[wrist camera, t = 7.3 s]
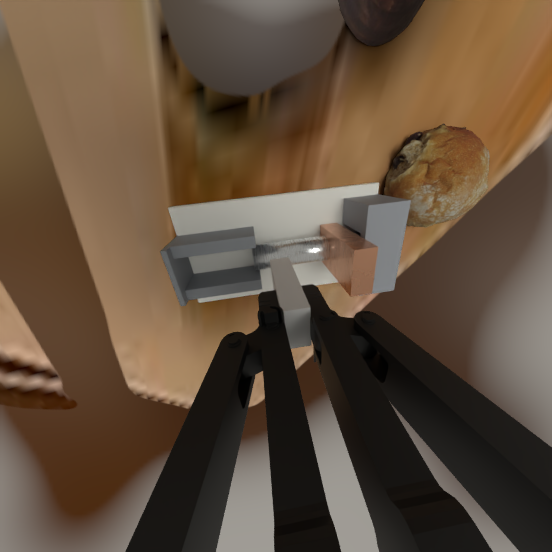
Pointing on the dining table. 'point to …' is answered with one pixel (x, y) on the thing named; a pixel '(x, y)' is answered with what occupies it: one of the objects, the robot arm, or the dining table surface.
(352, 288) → the slip tube
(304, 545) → the robot arm
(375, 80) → the dining table surface
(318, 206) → the guide base
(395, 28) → the mortar and pestle
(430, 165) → the bread roll
